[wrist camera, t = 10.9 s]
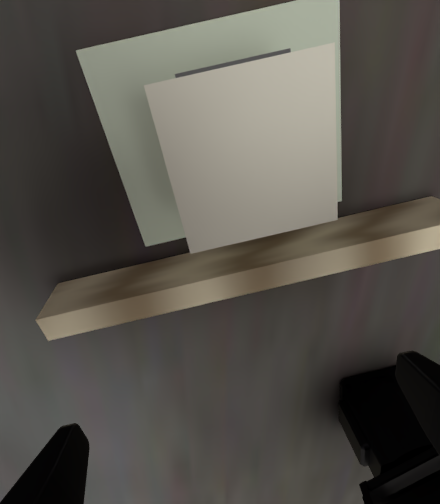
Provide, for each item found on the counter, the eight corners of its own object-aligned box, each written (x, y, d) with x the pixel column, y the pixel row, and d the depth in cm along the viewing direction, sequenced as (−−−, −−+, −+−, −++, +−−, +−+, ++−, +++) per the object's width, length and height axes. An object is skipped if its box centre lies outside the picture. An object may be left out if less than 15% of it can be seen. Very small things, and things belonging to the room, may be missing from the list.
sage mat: (335, -7, 14) (339, -10, 14) (338, 198, 19) (341, 201, 19) (78, 51, 14) (75, 50, 14) (146, 243, 19) (145, 246, 19)
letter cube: (279, 54, 15) (334, 36, 10) (290, 180, 18) (337, 220, 12) (155, 82, 15) (142, 79, 9) (187, 204, 18) (190, 254, 12)
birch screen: (431, 196, 20) (478, 216, 17) (428, 217, 20) (473, 240, 17) (57, 283, 19) (35, 319, 16) (68, 302, 20) (48, 340, 17)
